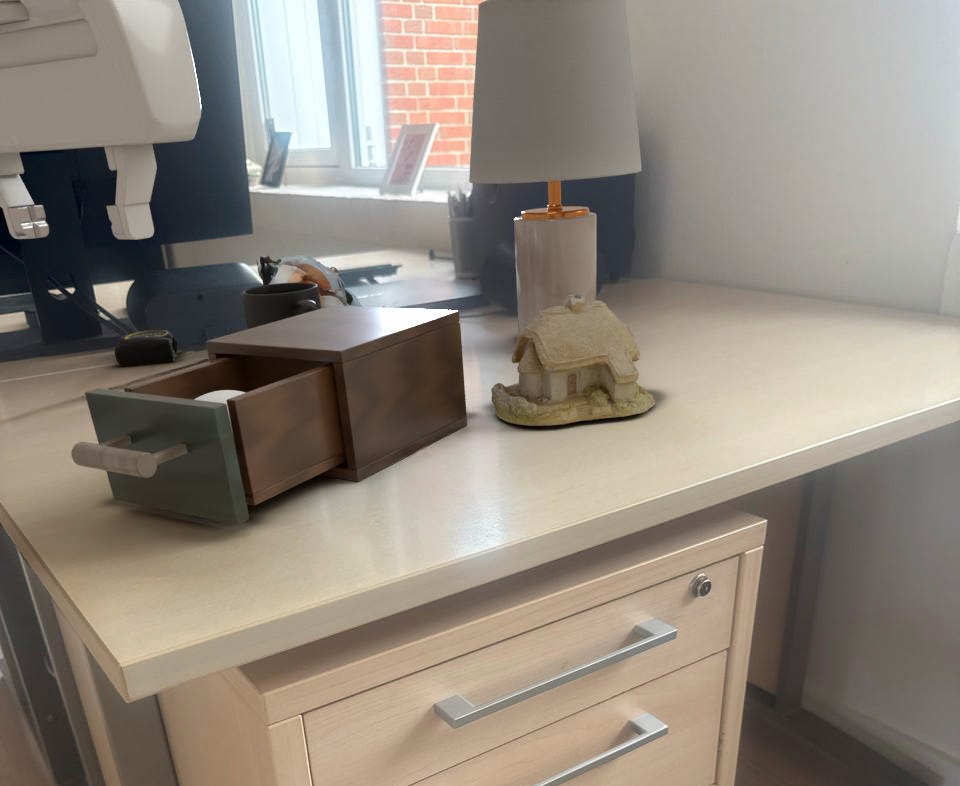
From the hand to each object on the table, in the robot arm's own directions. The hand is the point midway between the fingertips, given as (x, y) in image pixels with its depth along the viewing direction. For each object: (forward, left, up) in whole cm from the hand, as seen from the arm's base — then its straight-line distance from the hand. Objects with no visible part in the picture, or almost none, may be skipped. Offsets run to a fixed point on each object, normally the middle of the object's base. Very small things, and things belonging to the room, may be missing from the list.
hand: (81, 238), depth 54 cm
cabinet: (0, +22, -19) cm, 29 cm away
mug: (-20, +38, -19) cm, 47 cm away
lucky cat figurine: (-29, +53, -19) cm, 63 cm away
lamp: (-1, +63, -19) cm, 65 cm away
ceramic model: (+14, +37, -19) cm, 44 cm away
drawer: (0, +7, -18) cm, 19 cm away
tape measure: (-44, +38, -19) cm, 61 cm away
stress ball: (0, +8, -17) cm, 19 cm away
